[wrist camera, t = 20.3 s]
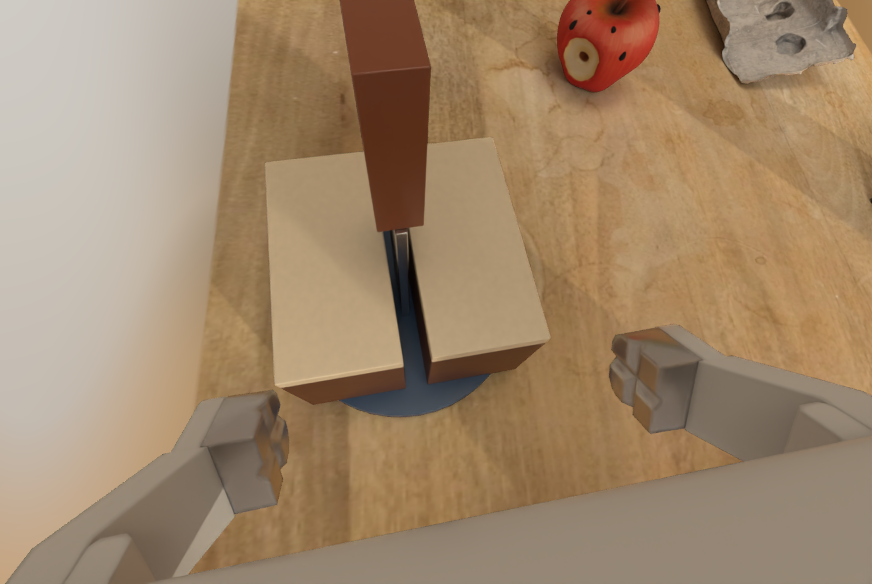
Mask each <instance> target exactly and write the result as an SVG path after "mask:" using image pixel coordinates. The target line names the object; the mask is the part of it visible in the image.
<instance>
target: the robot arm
mask: <svg viewBox="0 0 872 584" xmlns="http://www.w3.org/2000/svg"><path fill="white" fill-rule="evenodd" d="M611 350H612V351H613V353H614V354H615V355H616V358H615V359H614V361H613V362H612V363H611V365H610V371H609V378H610V382H611V386H612V389H613V391H614V393H615V395H616V396H617V397H618V398H619V400H620V401H621V402H622V403H625V404H627V405H629V406H631V407H633V415H634V417H635V418H636V419H637V420H638V421H639V422H640V423H641V424H642V426H643V427H644V428H645V429H646V430H647V431H648V432H649V433H650V434H652V433H658V432H664V431H671V430H677V429H683V428H685V430H686V431H688V432H690V433H692V434H693V435H695V436H697V437H699V438H701V439H703V440H705V441H707V442H708V443H710V444H712V445H714V446H716V447H718V448H720V449H721V450H723V451H725V452H727V453H729V454H731V455H733V456H734V457H736V458H738V459H740V460H742V461H744V462H739V463H735V464H730V465H725V466H720V467H715V468H710V469H705V470H700V471H695V472H690V473H685V474H680V475H675V476H670V477H665V478H660V479H656V480H651V481H646V482H641V483H636V484H631V485H626V486H621V487H616V488H611V489H606V490H601V491H596V492H591V493H586V494H581V495H576V496H571V497H567V498H562V499H557V500H552V501H547V502H542V503H537V504H532V505H527V506H523V507H518V508H513V509H508V510H503V511H498V512H493V513H488V514H484V515H479V516H474V517H469V518H464V519H459V520H454V521H449V522H445V523H440V524H435V525H430V526H425V527H420V528H415V529H410V530H405V531H401V532H396V533H391V534H386V535H381V536H376V537H371V538H366V539H361V540H356V541H351V542H346V543H342V544H337V545H332V546H327V547H322V548H317V549H312V550H307V551H302V552H297V553H292V554H287V555H283V556H278V557H273V558H268V559H263V560H258V561H253V562H248V563H243V564H238V565H233V566H229V567H224V568H219V569H214V570H209V571H204V572H199V573H194V574H189V575H187V574H188V573H189V572H190V571H191V570H192V568H193V567H194V566H195V565H196V563H197V562H198V561H199V560H200V559H201V557H202V556H203V555H204V554H205V552H206V551H207V550H208V549H209V548H210V546H211V545H212V544H213V543H214V541H215V540H216V539H217V538H218V537H219V535H220V534H221V533H222V532H223V530H224V529H225V528H226V527H227V526H228V524H229V523H230V522H231V521H232V520H233V518H234V517H235V515H234V514H238V513H242V512H247V511H251V510H256V509H260V508H265V507H270V506H274V505H277V504H278V499H279V495H280V491H281V486H282V482H283V477H282V473H281V470H280V469H281V468H282V467H283V466H284V465H285V464H286V463H287V459H288V454H289V436H288V429H287V425H286V422H285V420H284V419H282V418H281V417H280V416H278V412H279V408H280V402H279V399H278V396H277V393H276V392H275V391H274V390H268V391H260V392H253V393H246V394H239V395H232V396H228V397H225V396H224V397H218V398H213V399H207V400H204V401H202V402H200V403H199V404H198V406H197V408H196V410H195V411H194V413H193V415H192V416H191V418H190V420H189V422H188V423H187V425H186V427H185V429H184V430H183V432H182V434H181V436H180V437H179V439H178V441H177V442H176V444H175V446H174V448H173V449H172V451H171V453H165V454H162V455H161V456H159V457H158V458H157V459H155V460H154V461H152V462H151V463H150V464H148V465H147V466H146V467H144V468H143V469H141V470H140V471H139V472H137V473H136V474H134V475H133V476H132V477H130V478H129V479H128V480H126V481H125V482H123V483H122V484H121V485H119V486H118V487H117V488H115V489H114V490H113V491H111V492H110V493H108V494H107V495H106V496H104V497H103V498H102V499H100V500H99V501H97V502H96V503H94V504H93V505H92V506H90V507H89V508H88V509H86V510H85V511H83V512H82V513H81V514H79V515H78V516H77V517H75V518H74V519H72V520H71V521H70V522H68V523H67V524H66V525H64V526H63V527H61V528H60V529H59V530H57V531H56V532H54V533H53V534H52V535H50V536H49V537H48V538H47V539H45V540H44V541H42V542H41V543H39V544H38V545H37V546H35V547H34V548H32V549H31V551H30V552H29V553H28V554H27V556H26V557H25V558H24V560H23V561H22V562H21V564H20V565H19V566H18V567H17V569H16V570H15V571H14V573H13V574H12V575H11V577H10V578H9V579H8V581H7V582H6V583H5V584H872V396H871V395H869V394H867V393H866V392H864V391H860V390H856V389H853V388H849V387H845V386H842V385H838V384H834V383H831V382H827V381H823V380H820V379H816V378H812V377H809V376H805V375H802V374H798V373H794V372H791V371H787V370H783V369H780V368H776V367H772V366H769V365H765V364H761V363H758V362H754V361H750V360H747V359H743V358H739V357H736V356H725V355H723V354H722V353H720V352H719V351H717V350H716V349H714V348H713V347H711V346H710V345H708V344H707V343H705V342H704V341H702V340H701V339H699V338H698V337H696V336H695V335H693V334H692V333H690V332H689V331H687V330H686V329H684V328H683V327H681V326H680V325H675V324H670V325H665V326H660V327H655V328H651V329H646V330H640V331H635V332H629V333H624V334H618V335H615V337H614V339H613V341H612V349H611Z"/></svg>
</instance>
